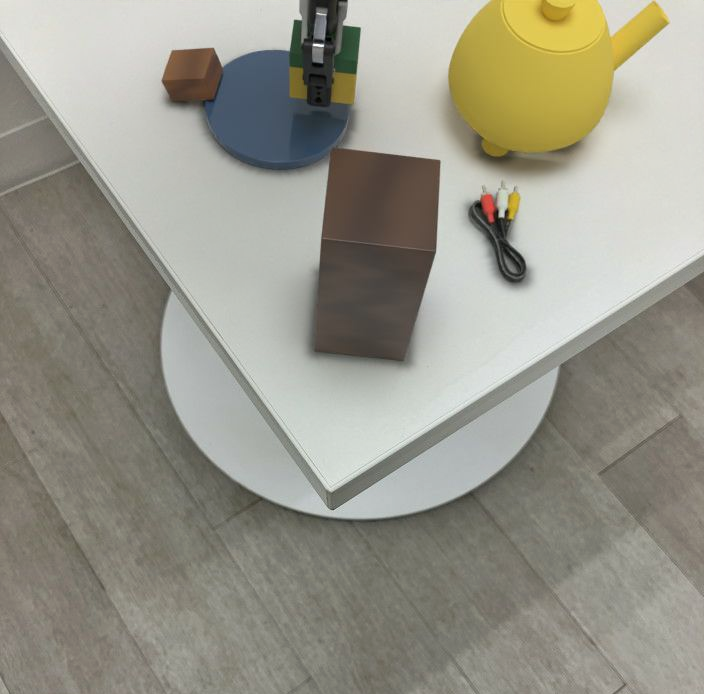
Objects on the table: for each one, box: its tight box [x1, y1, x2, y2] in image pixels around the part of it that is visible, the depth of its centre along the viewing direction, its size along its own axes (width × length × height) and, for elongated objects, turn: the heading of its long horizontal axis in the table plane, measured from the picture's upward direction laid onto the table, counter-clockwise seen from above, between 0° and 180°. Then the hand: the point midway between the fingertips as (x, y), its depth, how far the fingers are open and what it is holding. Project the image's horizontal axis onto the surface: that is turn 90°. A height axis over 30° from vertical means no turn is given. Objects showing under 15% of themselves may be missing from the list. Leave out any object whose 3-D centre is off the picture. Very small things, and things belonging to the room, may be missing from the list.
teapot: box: [447, 0, 670, 157], centre depth 74 cm, size 20×16×14 cm
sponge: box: [289, 19, 362, 105], centre depth 72 cm, size 6×4×5 cm, turn 85°
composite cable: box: [468, 180, 528, 283], centre depth 74 cm, size 10×5×2 cm, turn 4°
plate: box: [204, 49, 350, 170], centre depth 78 cm, size 14×14×1 cm
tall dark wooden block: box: [313, 147, 442, 361], centre depth 64 cm, size 8×8×16 cm
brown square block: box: [160, 47, 223, 102], centre depth 77 cm, size 4×4×2 cm
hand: (321, 84), depth 75 cm, fingers closed on sponge, 4 cm apart
